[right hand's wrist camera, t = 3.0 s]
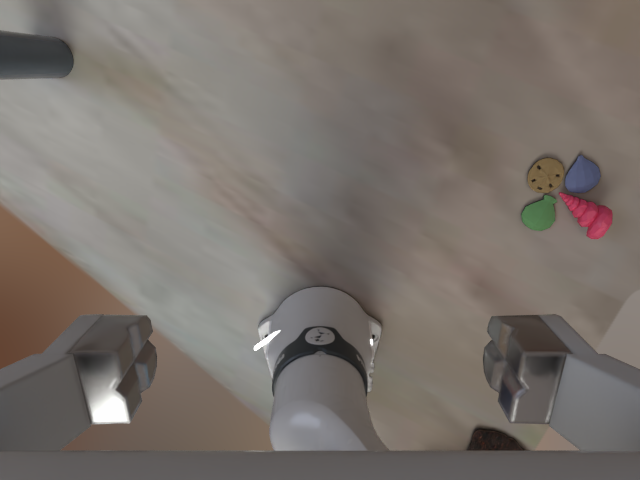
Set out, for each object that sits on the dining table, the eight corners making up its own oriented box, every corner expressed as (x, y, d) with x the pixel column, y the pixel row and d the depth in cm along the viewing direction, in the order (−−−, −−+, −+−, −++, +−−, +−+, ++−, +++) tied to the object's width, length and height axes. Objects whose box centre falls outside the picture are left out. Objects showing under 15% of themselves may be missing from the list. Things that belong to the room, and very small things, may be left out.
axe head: (485, 421, 70) (556, 480, 70) (472, 399, 78) (535, 452, 78) (409, 500, 72) (478, 557, 72) (403, 470, 80) (465, 522, 80)
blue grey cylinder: (50, 84, 53) (-54, 89, 39) (26, 47, 52) (-91, 37, 37) (81, 68, 53) (-13, 67, 38) (58, 29, 51) (-49, 13, 36)
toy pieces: (624, 167, 57) (647, 175, 53) (583, 243, 61) (602, 255, 57) (541, 142, 56) (559, 148, 52) (505, 221, 60) (518, 232, 56)
